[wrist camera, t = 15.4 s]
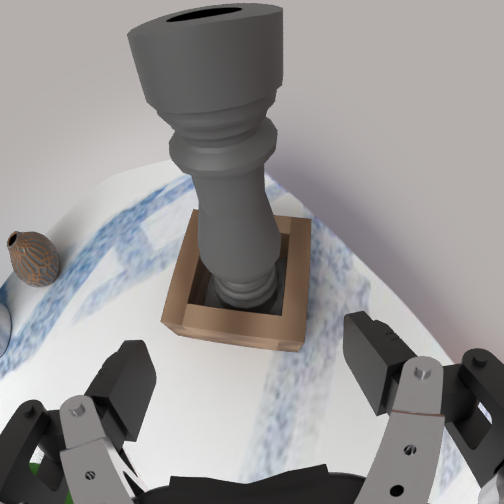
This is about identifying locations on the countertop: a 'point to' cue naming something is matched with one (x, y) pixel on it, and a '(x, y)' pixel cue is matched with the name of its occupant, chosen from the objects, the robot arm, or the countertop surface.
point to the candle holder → (222, 133)
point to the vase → (33, 258)
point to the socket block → (238, 322)
